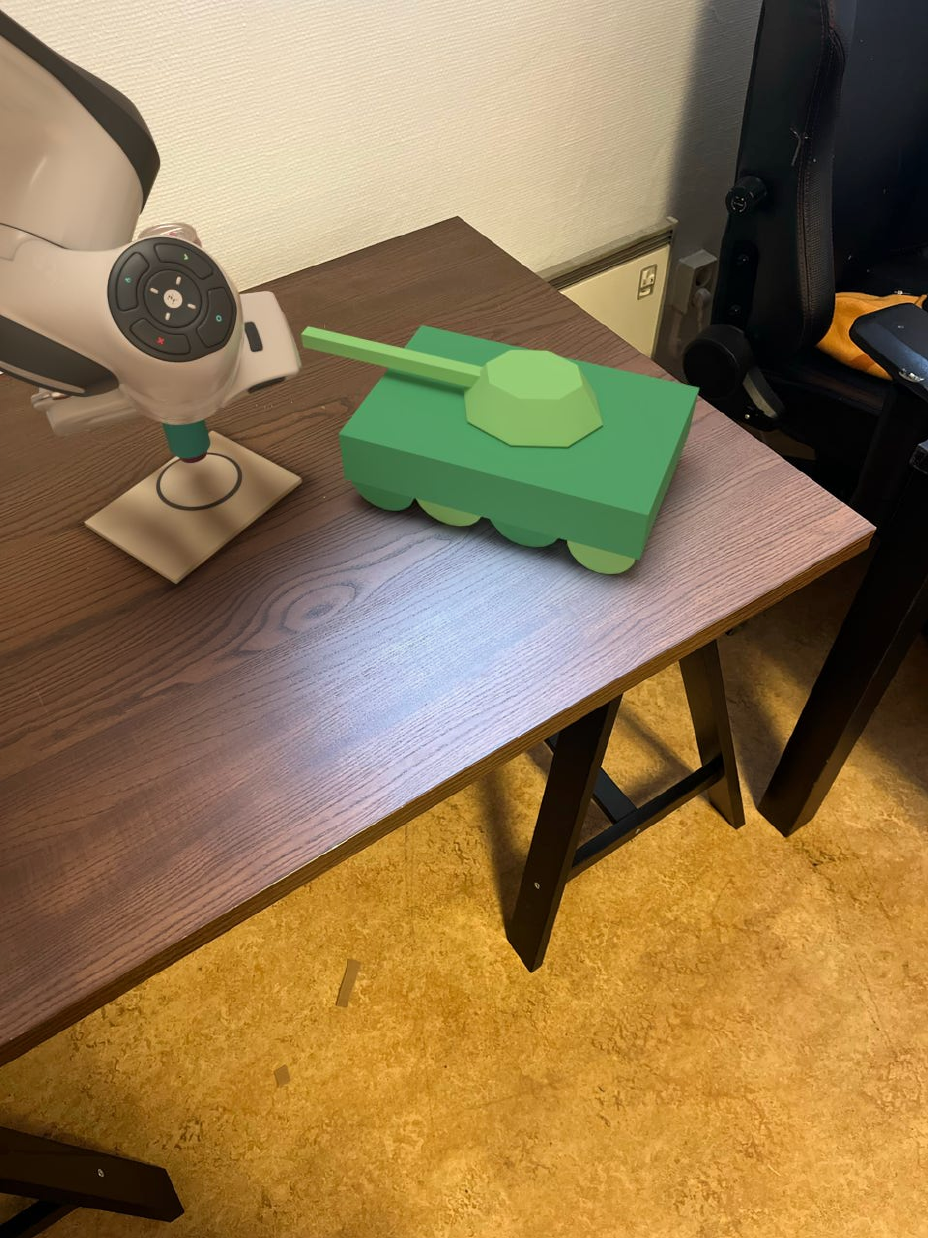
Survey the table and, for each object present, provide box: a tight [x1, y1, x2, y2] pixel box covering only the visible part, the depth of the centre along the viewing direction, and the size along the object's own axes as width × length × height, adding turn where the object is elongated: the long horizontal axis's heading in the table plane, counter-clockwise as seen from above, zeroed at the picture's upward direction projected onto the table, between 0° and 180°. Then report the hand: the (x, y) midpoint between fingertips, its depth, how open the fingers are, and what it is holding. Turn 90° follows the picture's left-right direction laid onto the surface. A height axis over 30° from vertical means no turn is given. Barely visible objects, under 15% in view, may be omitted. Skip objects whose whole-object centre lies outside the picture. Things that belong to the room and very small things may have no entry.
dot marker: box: [161, 419, 210, 463], centre depth 81 cm, size 4×4×11 cm
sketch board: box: [83, 430, 303, 585], centre depth 87 cm, size 16×12×1 cm
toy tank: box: [300, 324, 700, 575], centre depth 85 cm, size 18×12×35 cm
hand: (175, 395), depth 82 cm, fingers closed on dot marker, 3 cm apart
